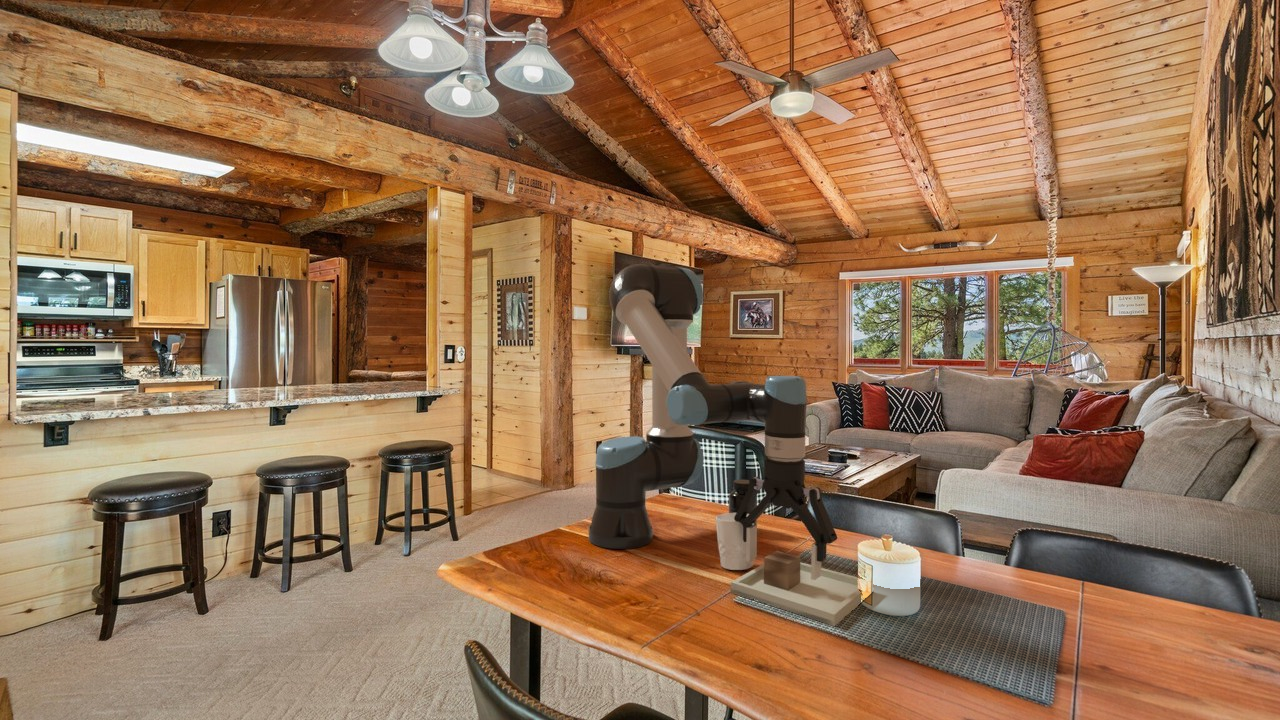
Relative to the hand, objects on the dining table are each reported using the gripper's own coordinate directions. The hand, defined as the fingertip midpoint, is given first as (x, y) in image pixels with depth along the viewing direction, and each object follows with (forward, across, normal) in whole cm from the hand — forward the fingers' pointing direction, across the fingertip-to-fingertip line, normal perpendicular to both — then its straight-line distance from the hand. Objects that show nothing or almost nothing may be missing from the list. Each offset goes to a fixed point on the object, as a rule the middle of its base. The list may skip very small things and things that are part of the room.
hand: (782, 568), depth 116 cm
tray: (+3, +4, 0) cm, 5 cm away
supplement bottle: (+4, -24, +25) cm, 35 cm away
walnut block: (+3, 0, 0) cm, 3 cm away
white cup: (+3, -12, +3) cm, 13 cm away
